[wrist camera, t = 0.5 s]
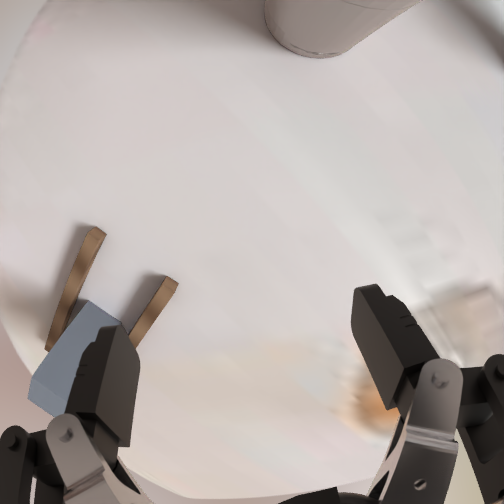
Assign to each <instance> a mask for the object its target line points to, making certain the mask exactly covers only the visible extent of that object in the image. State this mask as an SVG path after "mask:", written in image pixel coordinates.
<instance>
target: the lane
mask: <svg viewBox="0 0 504 504" xmlns="http://www.w3.org/2000/svg"><path fill="white" fill-rule="evenodd" d="M106 235H107V234H106V233H104V232H103V231H102V230H100V229H99V228H97V227H95V228H93V229H92V230H91V231H89V232H88V233H87V235H86V237H85V240H84V242H83V244H82V247H81V249H80V251H79V253H78V256H77V258H76V261H75V263H74V265H73V268H72V270H71V273H70V275H69V278H68V281H67V283H66V286H65V288H64V291H63V294H62V297H61V299H60V302H59V305H58V308H57V311H56V314H55V317H54V320H53V323H52V326H51V329H50V332H49V335H48V339H47V342H46V345H45V350H46V351H47V352H50V350H51V349H52V348H53V346H54V345H55V343H56V342H57V341H58V339H59V338H60V337H61V335H62V334H63V333H64V330H65V328H66V325H67V322H68V320H69V317H70V315H71V312H72V310H73V307H74V305H75V302H76V300H77V297H78V295H79V293H80V290H81V288H82V286H83V283H84V281H85V279H86V277H87V274H88V272H89V270H90V268H91V266H92V263H93V261H94V259H95V257H96V255H97V253H98V251H99V249H100V247H101V245H102V243H103V241H104V239H105V237H106ZM178 284H179V283H177V282H176V281H174V280H173V279H171V278H170V277H168V276H167V277H166V278H165V280H164V281H163V283H162V284H161V286H160V287H159V289H158V290H157V292H156V293H155V295H154V296H153V298H152V299H151V301H150V302H149V304H148V305H147V307H146V308H145V310H144V311H143V313H142V315H141V316H140V318H139V319H138V321H137V322H136V324H135V325H134V327H133V329H132V330H131V332H130V333H129V335H128V336H129V338H130V340H131V342H132V344H133V346H134V348H135V349H136V347H137V346H138V344H139V343H140V342H141V340H142V339H143V337H144V336H145V334H146V333H147V331H148V330H149V329H150V327H151V326H152V324H153V323H154V321H155V320H156V318H157V317H158V316H159V314H160V313H161V311H162V310H163V308H164V307H165V306H166V304H167V303H168V301H169V300H170V299H171V297H172V296H173V294H174V293H175V291H176V288H177V286H178Z"/></svg>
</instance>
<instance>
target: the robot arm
mask: <svg viewBox="0 0 504 504" xmlns="http://www.w3.org/2000/svg"><path fill="white" fill-rule="evenodd" d="M420 1H422V0H265V9H264V14H265V21H266V24H267V26H268V29H269V31H270V32H271V33H272V35H273V36H274V38H275V39H276V40H277V41H278V42H279V43H280V44H281V45H283V46H284V47H286V48H287V49H289V50H290V51H293V52H295V53H297V54H299V55H302V56H306V57H310V58H331V57H334V56H338V55H341V54H342V53H344V52H346V51H348V50H349V49H351V48H352V47H353V46H355V45H356V44H358V43H359V42H361V41H362V40H363V39H365V38H366V37H368V36H369V35H370V34H372V33H373V32H375V31H376V30H378V29H379V28H381V27H382V26H383V25H385V24H386V23H388V22H389V21H391V20H392V19H394V18H395V17H397V16H398V15H400V14H402V13H403V12H405V11H406V10H408V9H409V8H411V7H412V6H414V5H416V4H417V3H419V2H420ZM351 328H352V333H353V336H354V338H355V340H356V343H357V345H358V347H359V349H360V351H361V353H362V356H363V358H364V360H365V362H366V364H367V367H368V369H369V371H370V373H371V376H372V378H373V380H374V382H375V385H376V387H377V389H378V391H379V394H380V396H381V398H382V401H383V403H384V405H385V408H386V410H389V409H392V408H395V407H397V408H398V410H399V413H400V415H399V417H398V420H397V424H396V427H395V429H394V432H393V435H392V438H391V441H390V444H389V446H388V449H387V452H386V454H385V457H384V460H383V462H382V464H381V466H380V468H379V470H378V472H377V474H376V476H375V478H374V480H373V482H372V485H371V486H370V489H369V491H368V493H367V495H366V496H365V495H362V494H356V493H346V492H343V493H342V492H341V493H338V490H337V487H333V488H329V489H325V490H321V491H316V492H312V493H307V494H302V495H298V496H295V497H293V498H291V499H288V500H286V501H283V502H281V503H278V504H444V501H445V497H446V494H447V491H448V488H449V484H450V481H451V477H452V474H453V470H454V466H455V462H456V457H457V453H458V442H457V441H455V440H454V435H455V430H456V428H457V429H458V432H459V434H460V437H461V439H462V441H463V444H464V447H465V449H466V451H467V454H468V457H469V459H470V462H471V464H472V467H473V470H474V473H475V476H476V478H477V481H478V484H479V487H480V490H481V493H482V496H483V499H484V502H485V504H504V355H502V354H496V355H493V356H491V357H490V358H488V360H487V361H486V363H485V364H484V366H483V367H472V368H459V367H458V366H457V365H456V364H455V363H453V362H452V361H450V360H447V359H442V358H440V357H439V355H438V354H437V352H436V351H435V349H434V348H433V346H432V345H431V343H430V341H429V340H428V338H427V337H426V335H425V334H424V332H423V331H422V329H421V328H420V326H419V325H417V322H416V320H415V319H414V317H413V316H411V313H410V311H409V310H408V308H407V307H406V305H405V304H404V303H403V302H401V301H400V300H399V299H397V298H396V297H394V296H393V295H390V296H385V294H384V293H383V291H382V290H381V288H380V287H379V286H378V285H377V284H372V285H367V286H362V287H358V288H355V290H354V296H353V306H352V315H351ZM139 373H140V360H139V356H138V353H137V351H136V349H135V348H134V346H133V344H132V342H131V340H130V338H129V336H128V335H127V333H126V331H125V329H124V327H123V326H122V325H113V326H103V327H101V328H100V329H99V331H98V334H97V337H96V340H95V342H90V344H89V345H88V346H87V348H86V349H85V350H84V352H83V353H82V356H81V359H80V362H79V367H78V368H77V371H76V374H75V375H76V377H74V381H73V384H72V387H71V391H70V394H69V398H68V401H67V405H66V408H65V412H64V414H61V415H58V416H56V417H55V418H54V419H53V420H52V421H51V422H50V423H49V425H48V427H47V429H46V430H42V431H38V432H34V433H28V432H26V431H25V430H24V429H23V428H22V427H20V426H11V427H9V428H7V429H6V430H5V431H4V432H3V434H2V436H1V438H0V504H30V492H31V484H32V477H34V478H36V479H37V481H36V489H35V498H34V504H154V502H152V501H151V500H150V499H149V498H148V497H147V496H146V494H145V493H144V492H143V490H142V489H141V488H140V486H139V485H138V484H137V482H136V481H135V479H134V478H133V477H132V475H131V474H130V472H129V471H128V469H127V468H126V466H125V465H124V463H123V462H122V460H121V459H120V457H119V456H118V455H117V453H118V447H130V439H131V430H132V422H133V414H134V407H135V399H136V393H137V386H138V380H139Z"/></svg>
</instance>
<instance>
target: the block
mask: <svg viewBox="0 0 504 504" xmlns="http://www.w3.org/2000/svg"><path fill="white" fill-rule="evenodd" d="M113 325H121V322H120V321H118V320H117V319H115V318H114V317H112V316H111V315H109V314H108V313H106V312H105V311H103V310H102V309H100V308H99V307H98V306H96V305H95V304H93V303H92V302H90V301H88V302H87V303H86V304H85V306H84V307H83V308H82V309H81V311H80V312H79V313H78V314H77V316H76V317H75V318H74V320H73V321H72V322H71V324H70V325H69V326H68V327H67V329H66V330H65V331H64V333H63V334H62V335H61V337H60V338H59V339H58V341H57V342H56V343H55V345H54V346H53V348H52V349H51V350H50V352H49V353H48V354H47V356H46V357H45V359H44V360H43V362H42V363H41V364H40V366H39V367H38V369H37V370H36V372H35V373H34V374H33V376H32V379H31V384H30V388H29V393H28V399H29V400H30V401H32V402H33V403H35V404H36V405H37V406H39V407H40V408H42V409H43V410H44V411H46V412H47V413H49V414H50V415H52V416H53V417H56V416H58V415H61V414H64V412H65V408H66V405H67V401H68V398H69V394H70V391H71V387H72V384H73V381H74V377H76V375H75V374H76V371H77V368H78V367H79V362H80V359H81V356H82V353H83V352H84V350H85V349H86V348H87V346H88V345H89V344H90V342H95V340H96V337H97V334H98V331H99V329H100V328H101V327H103V326H113Z"/></svg>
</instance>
